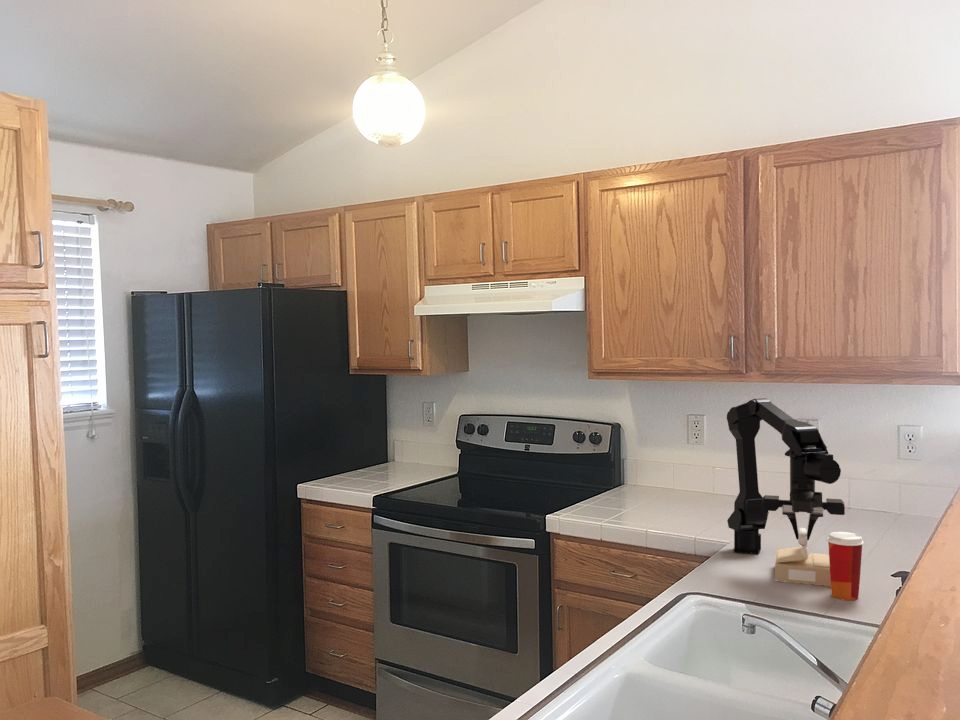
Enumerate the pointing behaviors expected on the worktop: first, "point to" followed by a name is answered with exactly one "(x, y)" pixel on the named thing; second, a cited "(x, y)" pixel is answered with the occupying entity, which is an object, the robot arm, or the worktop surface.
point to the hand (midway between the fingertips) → (802, 539)
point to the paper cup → (845, 564)
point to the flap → (795, 549)
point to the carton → (805, 570)
